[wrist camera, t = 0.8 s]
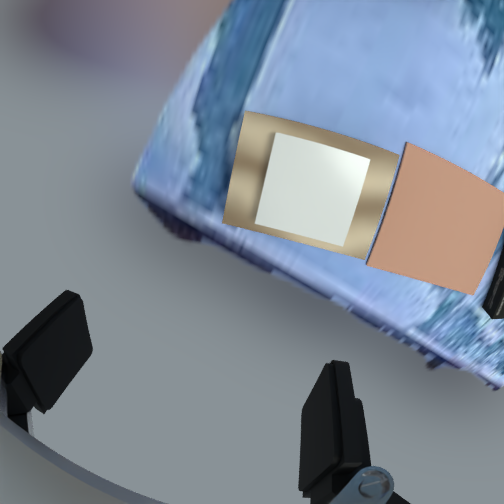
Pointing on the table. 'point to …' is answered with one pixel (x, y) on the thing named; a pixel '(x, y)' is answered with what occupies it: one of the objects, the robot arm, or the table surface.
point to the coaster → (311, 189)
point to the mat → (439, 223)
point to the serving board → (265, 127)
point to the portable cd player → (496, 292)
